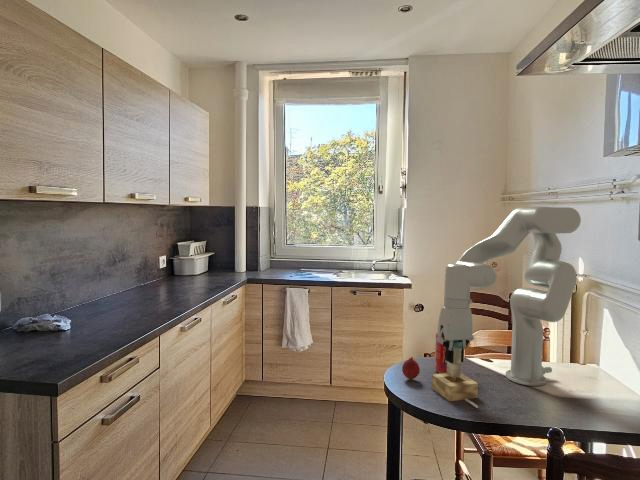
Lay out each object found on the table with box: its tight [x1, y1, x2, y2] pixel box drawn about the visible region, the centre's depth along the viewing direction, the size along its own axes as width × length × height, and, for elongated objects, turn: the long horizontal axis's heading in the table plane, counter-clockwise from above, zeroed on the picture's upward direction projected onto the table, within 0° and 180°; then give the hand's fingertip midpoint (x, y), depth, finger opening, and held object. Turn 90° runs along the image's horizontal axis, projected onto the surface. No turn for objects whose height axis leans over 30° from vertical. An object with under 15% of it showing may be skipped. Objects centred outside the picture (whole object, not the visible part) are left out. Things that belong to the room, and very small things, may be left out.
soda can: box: [434, 331, 447, 374], centre depth 149 cm, size 8×8×15 cm
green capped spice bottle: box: [447, 340, 462, 378], centre depth 131 cm, size 3×3×11 cm
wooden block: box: [430, 373, 479, 402], centre depth 131 cm, size 10×10×4 cm
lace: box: [464, 398, 479, 409], centre depth 123 cm, size 5×1×1 cm, turn 17°
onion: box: [401, 356, 421, 381], centre depth 141 cm, size 6×6×8 cm
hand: (454, 360), depth 131 cm, fingers closed on green capped spice bottle, 3 cm apart
